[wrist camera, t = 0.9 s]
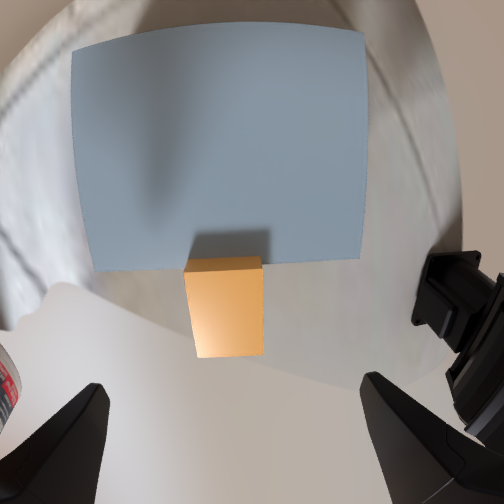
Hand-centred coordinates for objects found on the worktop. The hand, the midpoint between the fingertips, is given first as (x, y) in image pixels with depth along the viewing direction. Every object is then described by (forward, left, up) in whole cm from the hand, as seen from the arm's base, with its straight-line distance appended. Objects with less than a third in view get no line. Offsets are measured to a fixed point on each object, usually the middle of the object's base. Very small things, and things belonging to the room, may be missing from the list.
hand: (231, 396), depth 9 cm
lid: (0, -5, -7) cm, 9 cm away
